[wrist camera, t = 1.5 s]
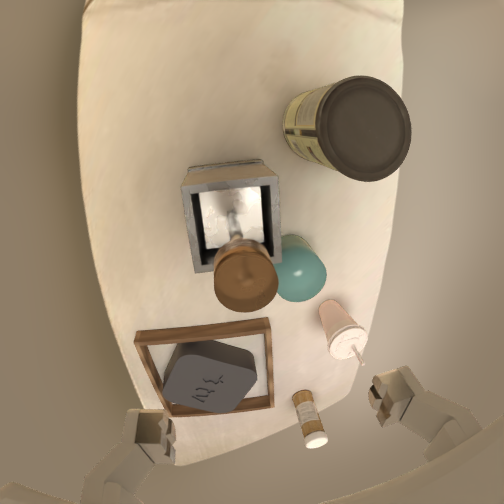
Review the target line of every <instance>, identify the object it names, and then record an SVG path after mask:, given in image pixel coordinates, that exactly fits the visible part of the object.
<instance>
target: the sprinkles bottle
mask: <svg viewBox="0 0 504 504" xmlns="http://www.w3.org/2000/svg"><path fill="white" fill-rule="evenodd" d="M293 402H294V404H295V407H296V412H297V416H298V419H299V423H300V426H301V429H302V432H303V435H304V442H305V445H306V447H307V448H317V447H320V446H322V445H324V444H325V443H327V441H328V438H327V435H326V433H325V431H324V429H323V426H322V423H321V420H320V417H319V414H318V411H317V408H316V405H315V403H314V400H313V397H312V393H311V392H310V391H300V392H298V393H296V394H295V395H294V396H293Z"/></svg>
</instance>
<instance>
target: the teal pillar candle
mask: <svg viewBox="0 0 504 504" xmlns="http://www.w3.org/2000/svg"><path fill="white" fill-rule="evenodd" d="M281 246H282V263H276V264H273V266H274V268H275V271H276V273H277V276H278V280H279V286H278V290H277V292H278V294H279V295H280V296H281V297H282V298H283V299H285V300H287V301H291V302H302V301H306V300H309V299H311V298H312V297H314V296H315V295H317V294H318V293H319V292H320V291H321V289H322V288H323V286H324V284H325V281H326V276H327V274H326V268H325V266H324V264H323V263H322V261H321V260H320V259H319V257H318V256H317V255H316V253H315V252H314V251H313V249H312V248H311V247H310V245H309V244H308V243H307V242H306V241H305V240H304V239H303V238H302V237H300V236H297V235H285V236H282V237H281Z"/></svg>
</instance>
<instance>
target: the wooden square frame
mask: <svg viewBox="0 0 504 504" xmlns="http://www.w3.org/2000/svg"><path fill="white" fill-rule="evenodd" d="M262 333H264V338H265V353H266V368H267V383H268V395H266V396H260V397H253V398H245V399H242V400H241V402H240V403H239V404H238V405H237V407H236V408H235V409H234V410H232V411H230V412H227V413H214V412H210V411H205V410H200V409H196V408H192V407H188V406H184V405H180V404H175V405H172V403H171V402H170V401H168V400H166V399H165V398H164V397H163V394H162V390H163V383H162V381H161V379H160V376H159V374H158V372H157V369H156V367H155V365H154V362H153V360H152V357H151V355H150V352H149V350H148V347H147V345H159V344H173V343H184V342H195V341H205V340H215V339H224V338H232V337H240V336H248V335H255V334H262ZM134 344H135V347H136V349H137V352H138V354H139V356H140V359H141V361H142V363H143V365H144V368H145V370H146V372H147V374H148V376H149V378H150V381H151V383H152V385H153V387H154V389H155V391H156V393H157V395H158V397H159V399H160V401H161V403H162V405H163V407H164V409H166V410H167V412H168V414H169V417H190V416H206V415H218V414H228V413H237V412H246V411H253V410H260V409H267V408H273V407H274V382H273V359H272V338H271V326H270V323H269V319H268V317H265V318H258V319H251V320H244V321H236V322H228V323H219V324H210V325H201V326H191V327H181V328H170V329H158V330H145V331H137V332H136V336H135V339H134Z"/></svg>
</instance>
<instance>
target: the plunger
mask: <svg viewBox="0 0 504 504" xmlns="http://www.w3.org/2000/svg"><path fill="white" fill-rule="evenodd" d="M199 196H200V204H201V211H202V219H203V226H204V233H205V240H206V246H207V249H211V248H220V247H221V248H220V249H219V250H218V252H217V253H216V256H215V259H214V290H215V294H216V296H217V298H218V300H219V301H220V302H221V304H223V305H224V306H225V307H226V308H228V309H230V310H233V311H236V312H253V311H256V310H259V309H261V308H263V307H265V306H266V305H268V304H269V303H270V302H271V301H272V300H273V298H274V297H275V295H276V293H277V290H278V286H279V280H278V276H277V273H276V271H275V268H274V266H273V263H272V261H271V259H270V256H269V254H268V252H267V250H266V248H265V247H264V246H263V245H262V244H261V242H264V236H263V221H262V206H261V192H260V186H254V187H244V188H234V189H226V190H217V191H209V192H201V193H199Z"/></svg>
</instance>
